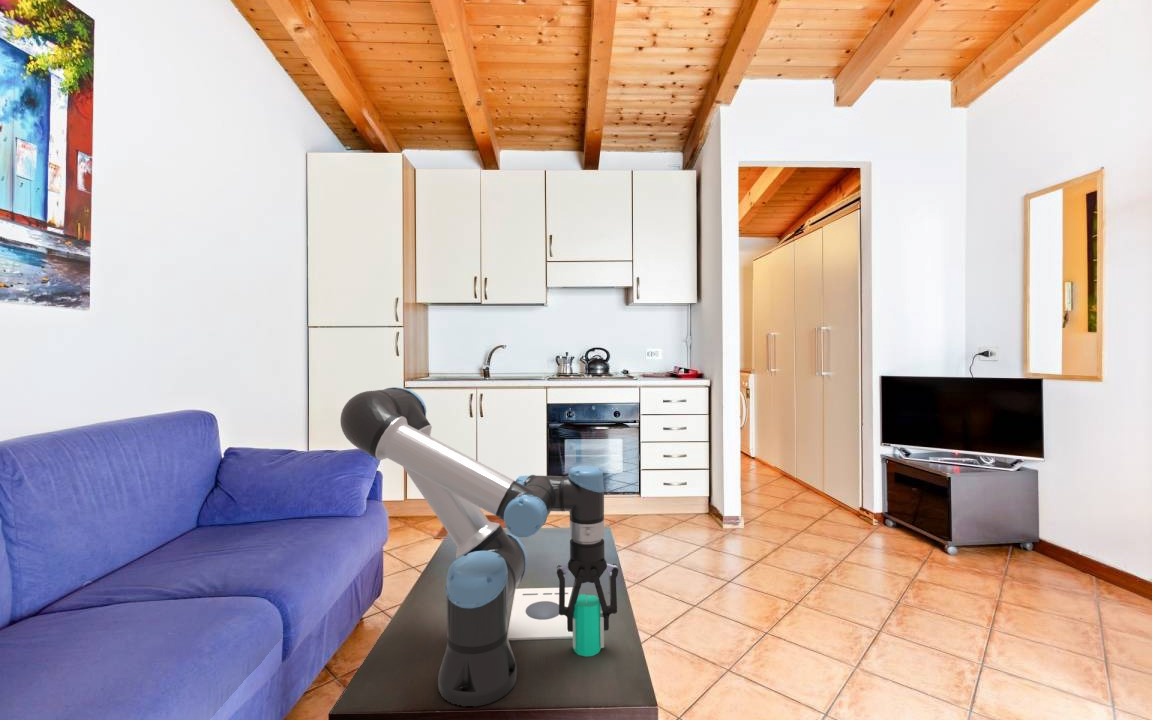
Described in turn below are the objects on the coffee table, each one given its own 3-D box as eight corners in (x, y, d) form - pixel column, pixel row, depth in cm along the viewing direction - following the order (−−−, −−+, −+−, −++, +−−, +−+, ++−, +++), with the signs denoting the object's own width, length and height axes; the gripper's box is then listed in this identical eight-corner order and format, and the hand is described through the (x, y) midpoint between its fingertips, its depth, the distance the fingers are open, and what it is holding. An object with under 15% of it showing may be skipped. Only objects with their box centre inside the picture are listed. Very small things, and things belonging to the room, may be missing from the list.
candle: (598, 658, 105) (597, 601, 105) (570, 654, 107) (570, 598, 106) (602, 642, 111) (602, 588, 111) (576, 639, 112) (575, 586, 112)
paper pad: (577, 638, 113) (577, 635, 113) (506, 640, 112) (506, 637, 112) (574, 589, 137) (574, 587, 137) (515, 590, 136) (515, 588, 136)
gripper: (544, 546, 105) (545, 656, 105) (631, 543, 105) (632, 653, 105) (545, 533, 112) (546, 636, 112) (626, 531, 113) (627, 633, 113)
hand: (588, 644), depth 109 cm, fingers closed on candle, 5 cm apart
